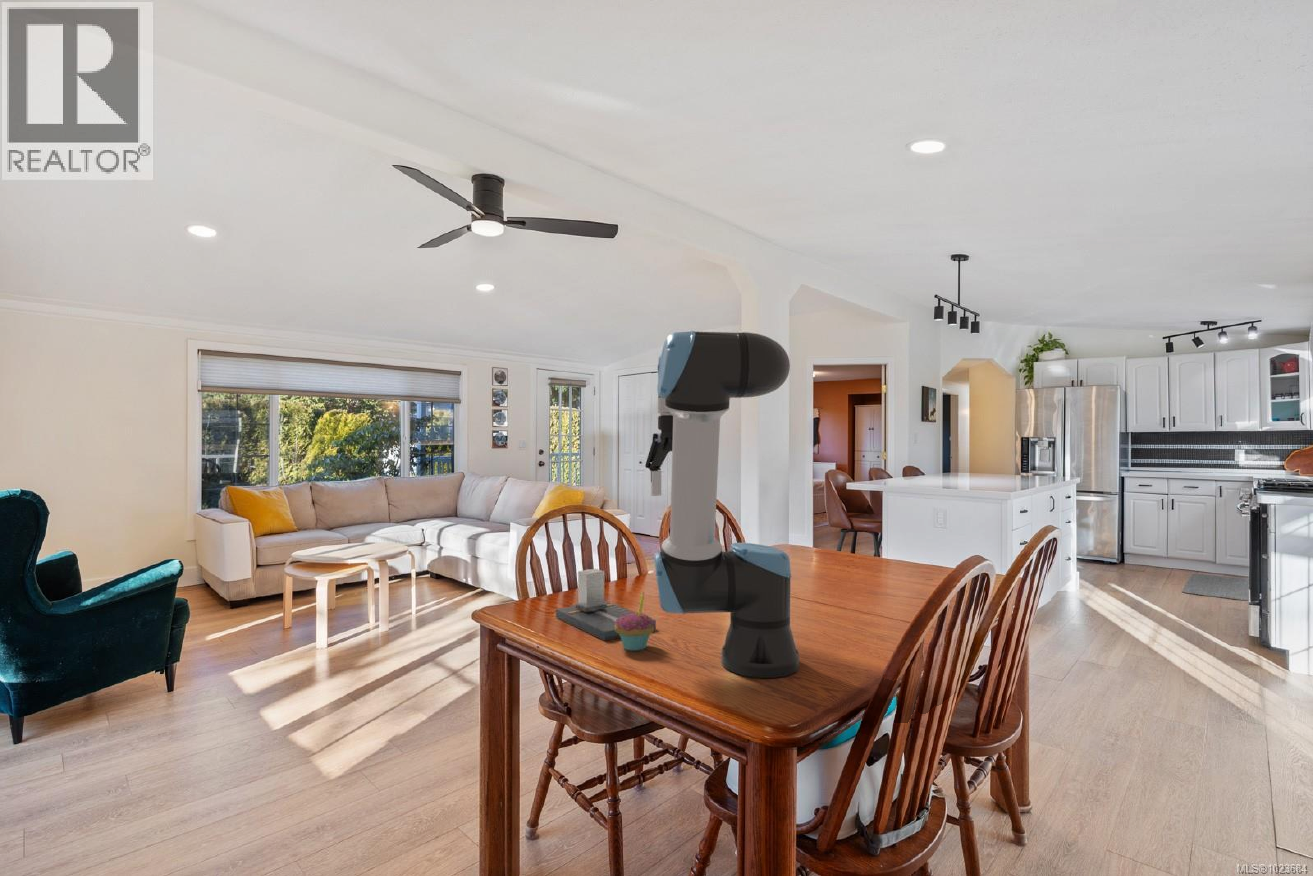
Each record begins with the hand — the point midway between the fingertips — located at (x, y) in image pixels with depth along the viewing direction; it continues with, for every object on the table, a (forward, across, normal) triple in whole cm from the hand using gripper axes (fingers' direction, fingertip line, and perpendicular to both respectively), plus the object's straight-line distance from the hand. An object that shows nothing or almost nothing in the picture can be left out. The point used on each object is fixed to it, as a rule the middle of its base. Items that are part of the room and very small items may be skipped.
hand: (672, 498), depth 163 cm
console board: (+29, +1, +20) cm, 35 cm away
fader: (+26, +7, +20) cm, 34 cm away
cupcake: (+29, -17, +24) cm, 41 cm away
